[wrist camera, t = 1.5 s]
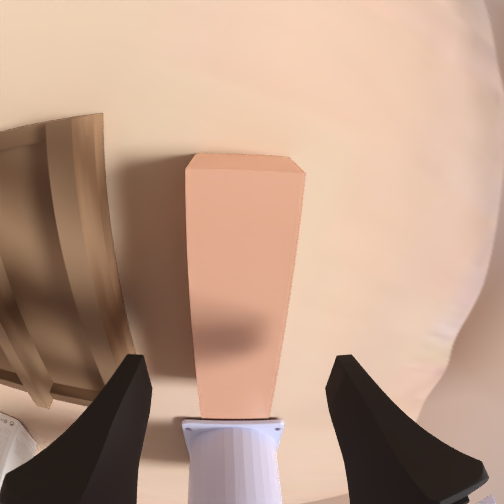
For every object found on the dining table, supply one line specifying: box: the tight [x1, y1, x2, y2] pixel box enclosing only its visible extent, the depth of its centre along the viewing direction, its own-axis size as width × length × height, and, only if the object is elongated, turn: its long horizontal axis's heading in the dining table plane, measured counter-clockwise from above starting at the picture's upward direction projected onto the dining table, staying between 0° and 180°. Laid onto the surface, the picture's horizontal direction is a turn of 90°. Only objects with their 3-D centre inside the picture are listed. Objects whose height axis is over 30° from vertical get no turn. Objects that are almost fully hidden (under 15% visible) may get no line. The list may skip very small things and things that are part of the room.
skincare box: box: [0, 412, 37, 490], centre depth 19 cm, size 6×4×12 cm
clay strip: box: [185, 154, 306, 419], centre depth 15 cm, size 14×4×4 cm, turn 176°
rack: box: [0, 113, 136, 409], centre depth 13 cm, size 18×16×3 cm
